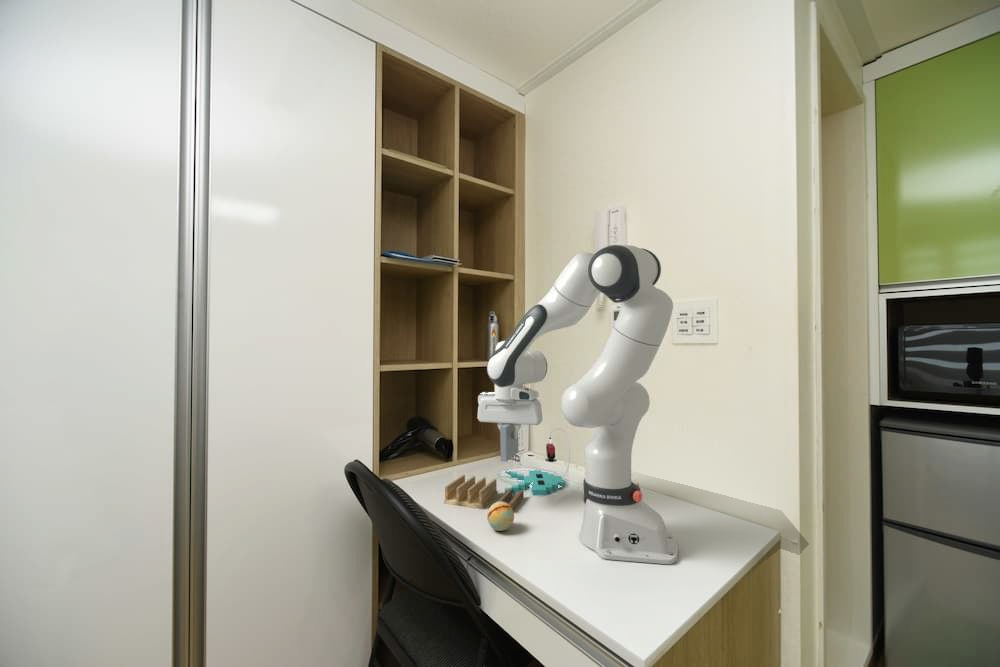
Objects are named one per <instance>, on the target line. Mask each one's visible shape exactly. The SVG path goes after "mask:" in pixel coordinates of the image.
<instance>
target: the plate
mask: <svg viewBox="0 0 1000 667" xmlns="http://www.w3.org/2000/svg"><path fill="white" fill-rule="evenodd" d="M515 430H516V428H515V424H507V423H504V425H502V426H500V430H499V434H500V435H499V439H500V450H499V451H500V462H508V461H509V460H510V459H511V458H513V457H514V456H515V455H517V453H519V437H518V438H517V439H512V438H511V433H512V432H515Z"/></svg>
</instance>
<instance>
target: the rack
mask: <svg viewBox="0 0 1000 667" xmlns="http://www.w3.org/2000/svg"><path fill="white" fill-rule="evenodd" d="M486 479H487V478H486V477H485V476H484V477H483V476H482V477H481V479H479V480H478V481H477V482H476V476H475V475H472V476H471V477H470V478H468V479H467V480H466V475H465V474H462V475H460V476H459V477H457V478H456V479H455V480H453V481H451V482H449V483H448V484H447V485H445V486H444V499H443V503H444V504H446V505H454V506H460V507H467V508H474V509H478V510H479V509H480V510H484V509H485V508H486V507H487V505H489V504H490V503H491V502H492V501H493V500H494V499H495V498H496V497H497V496H498V494H499V493H498V492H499V491H497V486H498V485H497V478H493V479H492V480H491V481H489V482H488V483H486V482H487V480H486Z"/></svg>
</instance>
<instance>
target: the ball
mask: <svg viewBox="0 0 1000 667" xmlns="http://www.w3.org/2000/svg"><path fill="white" fill-rule="evenodd" d="M508 503H509V502H508ZM508 503H506V502H502V501H499V502H497V501H496V502H493V503H492V504H491V506H490V507H489V509H488V511H487V517H486V518H487V522H488V524H489V526H490V527H491V528H492V529H493V530H494V531H499V532H504V531H506V530H508V529H509V528H510V527H512V524H513V523H514V520H515V514H514V513H515V512H514V511H513V509H512V507H511V506H510V505H509V504H508Z"/></svg>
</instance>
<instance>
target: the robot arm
mask: <svg viewBox="0 0 1000 667" xmlns="http://www.w3.org/2000/svg"><path fill="white" fill-rule="evenodd" d="M661 273H662V266H661V262H660V259H659V258H658V257H657V256H656V254H655V253H653V252H652V251H650V250H648V249H645V248H643V247H642V248H641V247H638V246H635V245H627V244H626V245H625V244H624V245H623V244H621V245H620V244H611V245H607V246H605V247H602V248H601V249H599V250H598V251H597V252H595V253H592V252H586V251H585V252H583V251H582V252H579V253H577V254H575V256H573V257H572V258H571V260H570V261H569V262H568V263H567V265H566V266H565V267H564V268H563V270H562V271H561V272H560V274H558V276H557V278H556V280H555V282H554V283H553V285H552V286H551V288H550V289H549V291H548V292H547V293H546V294H545V296H543V298H542V299H540V301H539V302H537V303H536V304H535V305H534V306H532V307H531V308H530V309H529V310H528V311H527V312H526V313H524V316H523V317H522V318H521V319H520V321H519V322H518V323H517V325H516V326H515V327H514V328H513V330H512V331H511V333H510V334H509V336H507V338H506V339H505V340H504V339H503V340H501V341H498V343H496V346H495V349H494V350H495V351H494V352H493V353H492V354H491V355H490V357H489V359H488V361H487V364H486V373H487V375H488V377H489V380H490V381H491V382H492V383H493V385H494V391H482V392H480V393H479V394H478V396H477V403H478V407H477V420H478V421H479V422H480V423H492V424H497V428H498V430H499V431H500V426H502V425H504V424H506V423H507V424H515V428H516V430H515V432H512V433H511V438H512V439H517V438H518V439H519V431H520V430H521V428H522V425H523V426H525V425H526V426H539V425H541V423H542V422H543V409H542V404H541V402H540V400H539V399H538V398H539V391H538V390H535V389H532V388H529V387H527V386H524V385H527V384H535V383H539V382H542V381H543V380H544V379H545V378H546V376H547V374H548V373H547V372H548V361H547V359H546V357H545V355H544V354H543V352H540V351H538V350H534V349H533V348H532V349H531V348H530V347H531V346H532V344H533V343H534V342H535V341H536V340H537V339H538V338H540V337H541V336H543V335H545V334H547V333H551V332H553V331H556V330H561V329H564V328H565V329H566V328H568V327H569V328H570V327H572V326H574V325H576V324H578V322H580V321H581V320H582V319H583V318H584V317H585V316H586V314H587V313H588V312H589V310H591V309H590V308H591V307H592V305H594V303H595V301H596V298H598V296H599V295H600V294H601V293H602V294H604V295H605V296H606V297H607V298H608V299H609V300H610V301H611V302H613V303H615V304H617V303H619V306H620V307H619V308H620V309H619V312H618V314H617V317H616V320H615V322H614V324H613V326H612V329H611V331H610V334H609V336H608V339H607V340H606V343H605V345H604V347H603V349H602V351H601V353H600V354H599V356H598V357H597V359H596V361H595V362H594V363H593V364H592V366H591V367H590V368H589V369H588V370H587V372H585V373H584V375H583V376H582V377H581V378H579V380H578V381H576V382H575V383H573V384H572V385H570V386H568V388H566V389H565V390H564V392H563V393H562V396H561V400H560V407H561V412H562V415H563V417H564V419H565V420H566V421H567V423H568V424H569V425H571V426H573V427H578V428H586V429H587V428H588V429H595V428H596V430H595V433H594V434H593V436H592V438H591V439H590V441H588V443H587V444H586V446H585V449H584V479H583V483H582V495H583V496H582V497H583V498H582V499H583V502H584V506H583V507H584V509H583V518H582V524H581V529H580V532H579V535H578V536H579V540H580V541H581V543H583V545H584V546H586V547H587V548H589V549H591V550H592V551H594V552H596V555H598V556H599V557H600V558H601V559H604V560H614V561H622V562H623V561H626V562H637V563H638V562H639V563H648V564H661V565H673V564H674V563H676V561H677V560H678V557H679V547H678V543H677V541H676V538H674V536H672V534H670V533H669V532H668V531H667V528H666V527H667V526H666V525H665V522H664V520H663V517H662V516H661V515H660V513H658V512H657V511H656V510H655V509H654V508H652V507H651V506H649V505H648V504H647V503H646V502H645V501H643V493H642V492H641V487H640V485H639V483H637V484H636V483H635V482H633V481H632V453H633V452H632V451H633V445H634V441H635V437H636V434H637V430H638V427H639V425H640V422H641V420H642V419H643V418H644V416H645V415H646V413H647V412H648V411H649V409H650V402H651V400H650V395H649V393H648V391H647V389H646V388H645V386H644V385H642V384H641V383H639V382H638V380H640V379H642V378H643V377H644V376H645V375H646V374H647V373H648V372H649V371H650V370H649V369H650V367H651V366H652V363H653V362H654V359H655V357H656V355H657V353H658V351H659V349H660V346H661V344H662V342H663V341H664V338H665V337H666V336H665V335H666V333H667V331H668V328H669V324H670V321H671V317H672V314H673V309H674V303H673V299H672V298H671V296H669V295H668V294H667V293H666V292H665V291H663V289H660V288H657V287H656V286H655V285H656V284H657V283H658V282H659V280H660V276H661Z"/></svg>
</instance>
